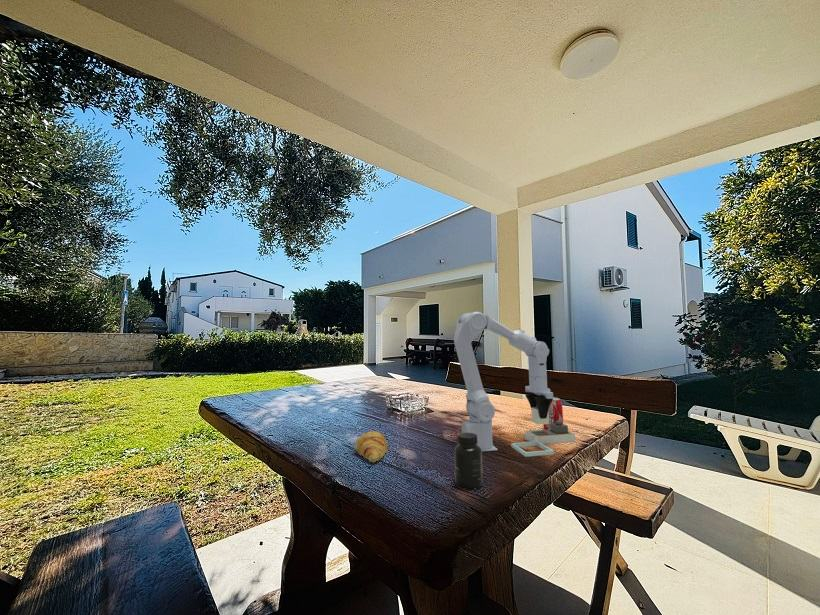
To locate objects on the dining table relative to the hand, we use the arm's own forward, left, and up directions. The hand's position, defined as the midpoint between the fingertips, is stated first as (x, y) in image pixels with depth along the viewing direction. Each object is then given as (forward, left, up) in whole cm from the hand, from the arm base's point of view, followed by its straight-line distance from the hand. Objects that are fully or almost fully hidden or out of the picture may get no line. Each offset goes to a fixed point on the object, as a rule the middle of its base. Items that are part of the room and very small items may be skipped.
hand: (539, 416), depth 121 cm
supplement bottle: (-35, -26, -9) cm, 44 cm away
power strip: (+3, 0, -8) cm, 9 cm away
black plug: (+7, 0, -8) cm, 11 cm away
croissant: (-57, +3, -9) cm, 58 cm away
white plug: (0, 0, -2) cm, 2 cm away
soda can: (+11, +11, -9) cm, 18 cm away
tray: (-8, -8, -8) cm, 14 cm away
